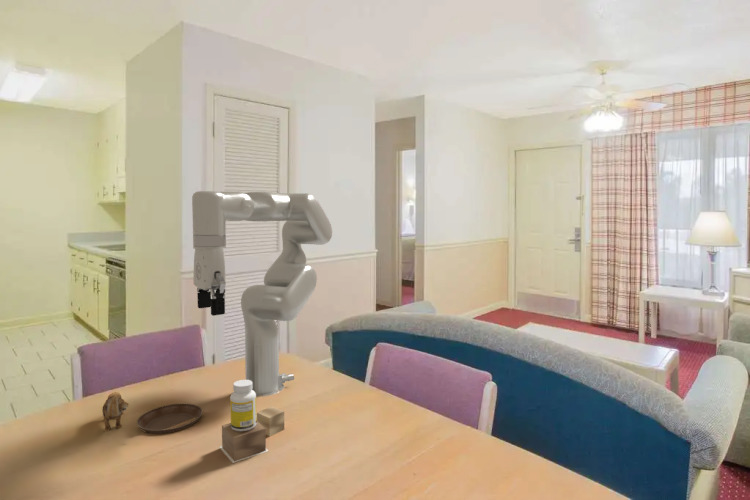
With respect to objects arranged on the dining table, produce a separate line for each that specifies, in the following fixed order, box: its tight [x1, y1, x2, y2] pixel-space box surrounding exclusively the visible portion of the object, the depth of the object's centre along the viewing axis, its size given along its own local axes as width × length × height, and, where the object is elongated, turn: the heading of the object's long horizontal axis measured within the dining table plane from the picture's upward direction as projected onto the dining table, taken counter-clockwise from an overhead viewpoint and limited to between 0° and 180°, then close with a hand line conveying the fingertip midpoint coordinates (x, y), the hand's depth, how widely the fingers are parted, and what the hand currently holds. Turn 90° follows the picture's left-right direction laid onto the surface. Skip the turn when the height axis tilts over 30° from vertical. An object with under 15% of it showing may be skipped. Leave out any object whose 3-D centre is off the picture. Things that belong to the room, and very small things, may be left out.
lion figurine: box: [101, 391, 130, 432], centre depth 114 cm, size 15×5×9 cm, turn 35°
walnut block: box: [221, 421, 267, 461], centre depth 100 cm, size 7×7×5 cm
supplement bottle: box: [229, 379, 257, 431], centre depth 99 cm, size 5×5×10 cm
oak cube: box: [256, 405, 285, 437], centre depth 109 cm, size 4×4×4 cm
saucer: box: [136, 403, 203, 434], centre depth 113 cm, size 15×15×3 cm
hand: (211, 311), depth 113 cm, fingers open, 9 cm apart
